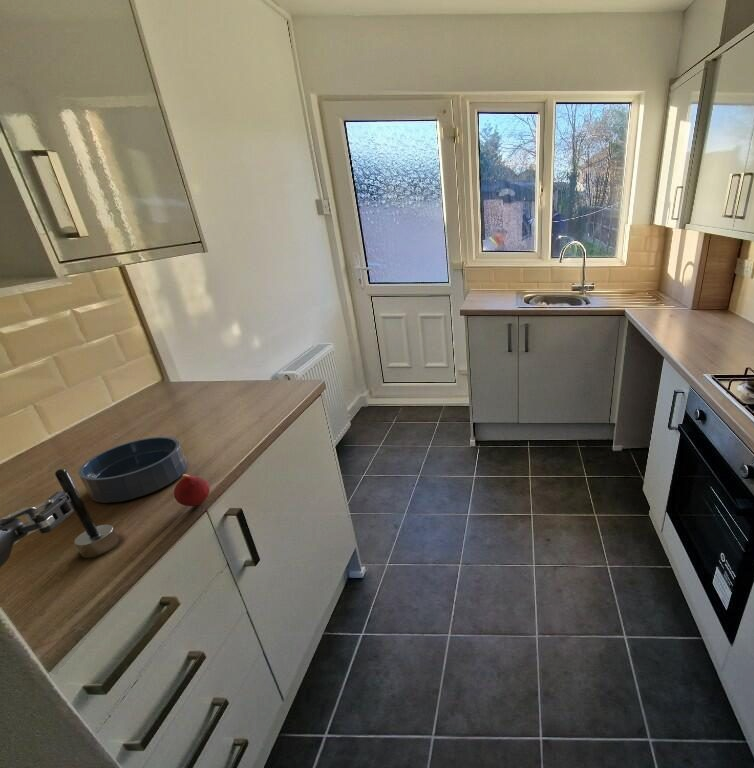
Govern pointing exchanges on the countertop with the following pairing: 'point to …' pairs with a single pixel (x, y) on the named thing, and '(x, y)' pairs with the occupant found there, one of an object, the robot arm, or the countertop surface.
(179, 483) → the onion
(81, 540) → the weighted rod stand
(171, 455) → the bowl
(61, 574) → the countertop surface
